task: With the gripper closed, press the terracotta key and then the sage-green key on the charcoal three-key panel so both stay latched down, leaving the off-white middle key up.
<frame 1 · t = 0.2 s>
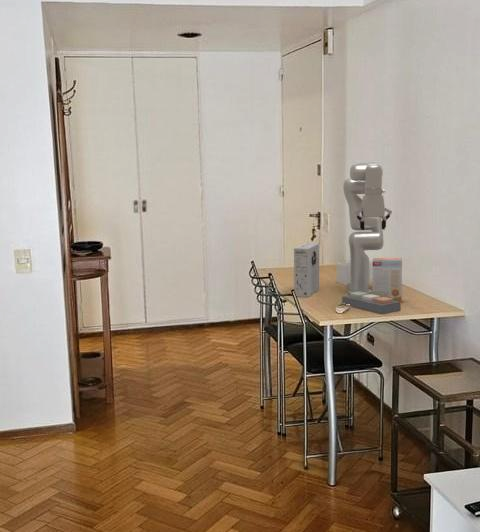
hand: (372, 229, 320), 37 cm above the table, tool pointing down, fingers open, 9 cm apart
key panel: (370, 307, 325), on the table
storage container: (361, 282, 387), on the table
middle key: (370, 298, 325), point 4 cm above the table, slide at 0.0 cm
right key: (383, 301, 318), point 4 cm above the table, slide at 0.0 cm
cracker box: (386, 301, 338), on the table
cereal box: (307, 293, 362), on the table
left key: (358, 295, 331), point 4 cm above the table, slide at 0.0 cm
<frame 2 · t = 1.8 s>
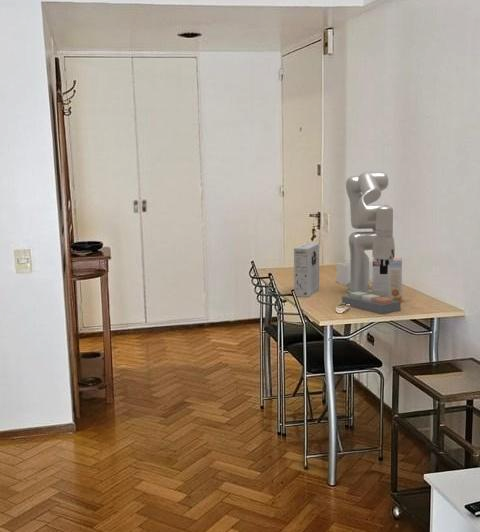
hand: (383, 273, 316), 17 cm above the table, tool pointing down, fingers closed
nothing on the table moved.
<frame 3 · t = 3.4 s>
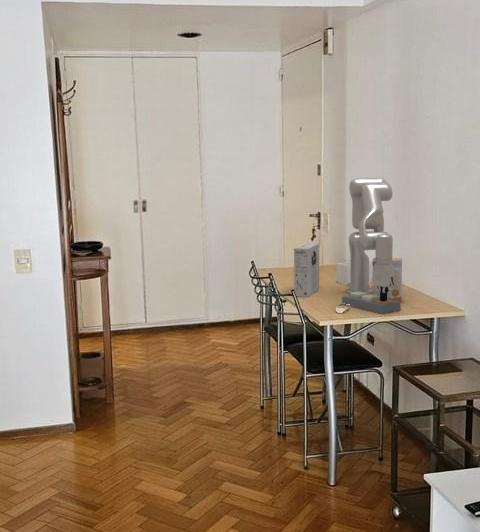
hand: (383, 300, 318), 5 cm above the table, tool pointing down, fingers closed
right key: (383, 303, 318), point 3 cm above the table, slide at 1.0 cm, touching gripper
everything else where it was.
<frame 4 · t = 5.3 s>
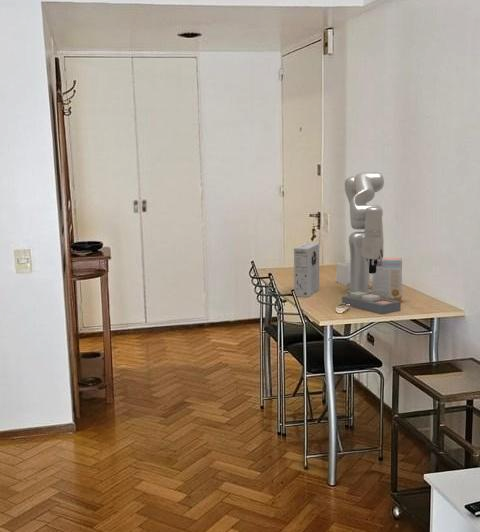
hand: (372, 273, 322), 16 cm above the table, tool pointing down, fingers closed
right key: (383, 305, 318), point 2 cm above the table, slide at 1.8 cm
everything else where it was.
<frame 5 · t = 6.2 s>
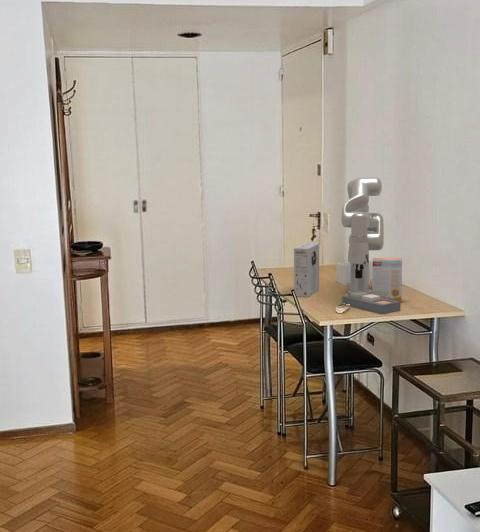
hand: (358, 278, 329), 13 cm above the table, tool pointing down, fingers closed
nothing on the table moved.
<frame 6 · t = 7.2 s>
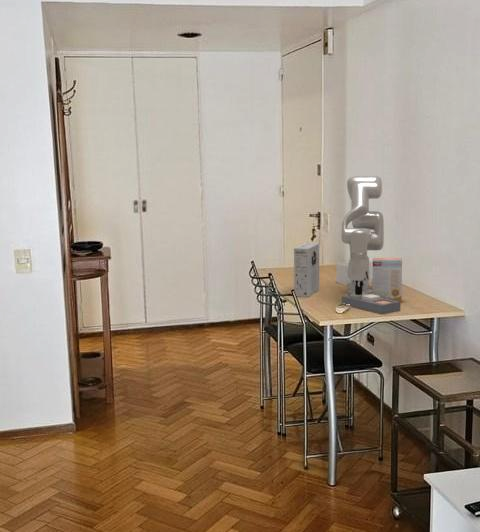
hand: (358, 294, 331), 5 cm above the table, tool pointing down, fingers closed
left key: (358, 296, 331), point 4 cm above the table, slide at 0.5 cm, touching gripper
everything else where it was.
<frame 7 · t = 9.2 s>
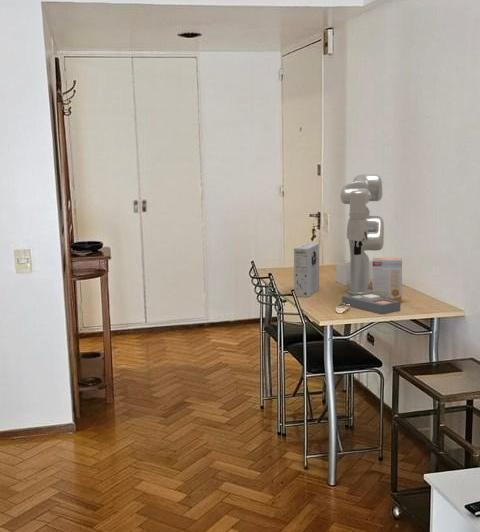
hand: (357, 254, 332), 24 cm above the table, tool pointing down, fingers closed
left key: (358, 299, 332), point 2 cm above the table, slide at 1.8 cm
everything else where it was.
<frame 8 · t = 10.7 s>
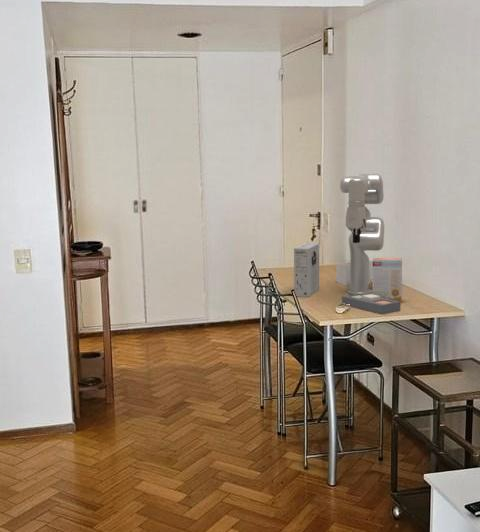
hand: (356, 242, 333), 29 cm above the table, tool pointing down, fingers closed
nothing on the table moved.
at the end: right key slide at 1.8 cm; left key slide at 1.8 cm; middle key slide at 0.0 cm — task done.
